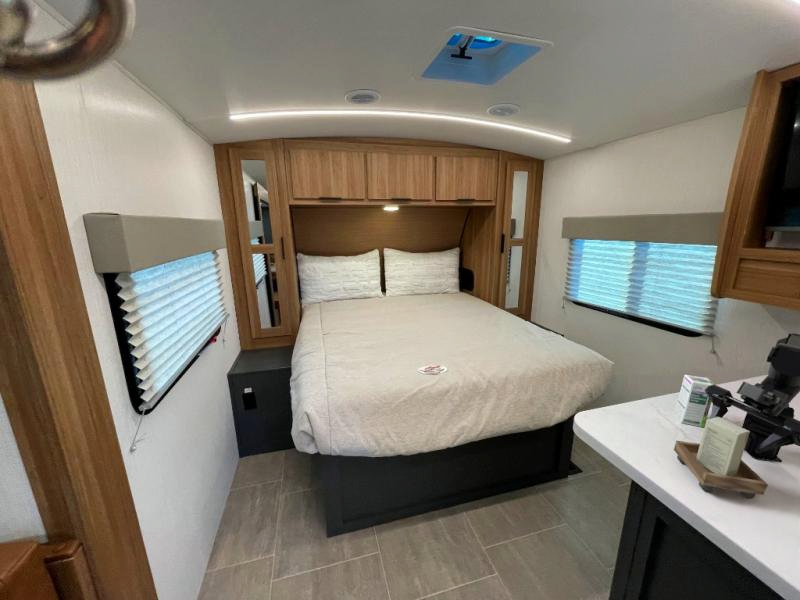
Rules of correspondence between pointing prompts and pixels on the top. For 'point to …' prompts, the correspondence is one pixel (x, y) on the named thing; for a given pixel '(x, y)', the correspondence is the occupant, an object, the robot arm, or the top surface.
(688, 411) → the syrup box
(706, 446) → the skincare box
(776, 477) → the top surface
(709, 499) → the top surface
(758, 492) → the shallow wooden tray
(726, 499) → the top surface
